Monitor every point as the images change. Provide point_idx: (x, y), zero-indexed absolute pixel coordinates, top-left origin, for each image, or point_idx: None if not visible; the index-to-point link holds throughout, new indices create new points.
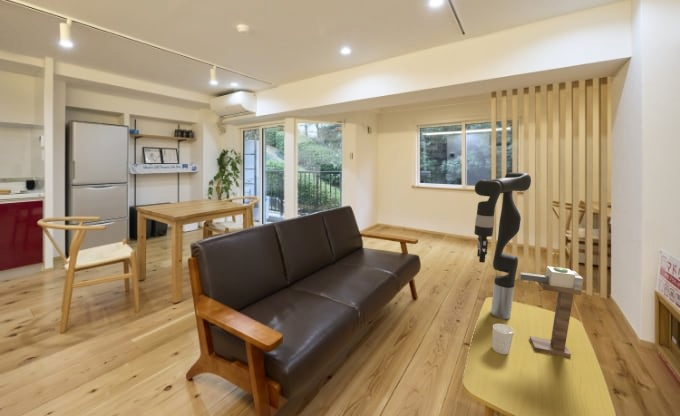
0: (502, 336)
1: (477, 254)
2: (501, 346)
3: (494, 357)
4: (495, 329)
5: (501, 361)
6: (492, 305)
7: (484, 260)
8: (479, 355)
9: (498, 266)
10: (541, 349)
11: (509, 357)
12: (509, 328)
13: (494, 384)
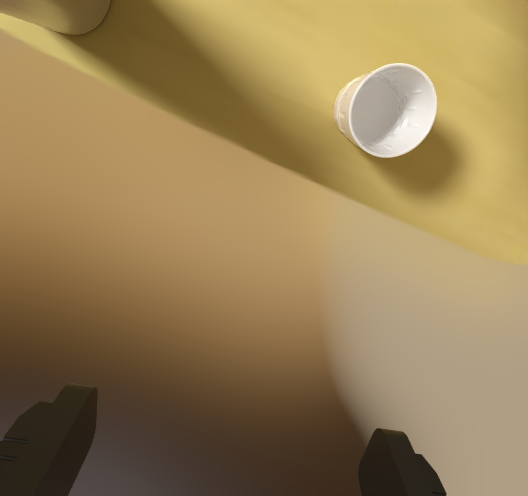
0: (421, 128)
1: (77, 467)
2: (399, 122)
3: None
4: (401, 154)
5: None
6: (50, 26)
7: (413, 461)
8: (395, 198)
9: None
10: None
11: None
12: (377, 72)
13: (523, 197)
